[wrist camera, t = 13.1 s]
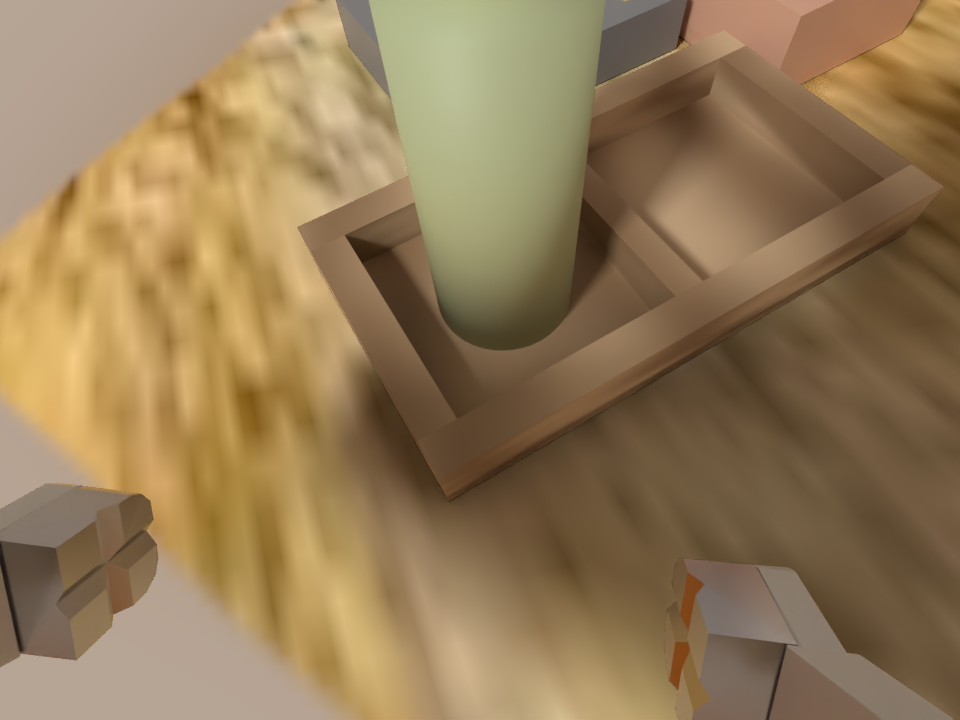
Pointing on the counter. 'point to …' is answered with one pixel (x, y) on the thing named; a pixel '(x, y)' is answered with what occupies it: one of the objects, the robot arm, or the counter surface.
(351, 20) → the block
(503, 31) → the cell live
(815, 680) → the robot arm
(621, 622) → the counter surface
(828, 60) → the pink square open box
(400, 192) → the brown divided tray
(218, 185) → the counter surface
